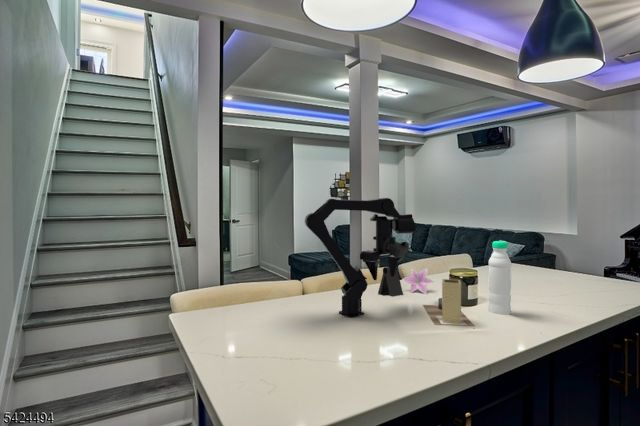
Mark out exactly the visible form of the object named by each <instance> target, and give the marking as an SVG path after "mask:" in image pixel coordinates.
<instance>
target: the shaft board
mask: <svg viewBox="0 0 640 426" xmlns="http://www.w3.org/2000/svg"><path fill="white" fill-rule="evenodd" d="M437 301H438V302H437V303H438V304H422V308H424V310H425V311H426V313H427V315H428V317H429V318H430V319H431V321H432V323H433V325H434V326H451V327H453V326H458V327H476V325H475V324H474V323H473V322H472V321H471V320H470V319H469V318H468V317H467V316H466V314H465V313H463V312H462V310H461V324H458V323H447V322H442V297H439V298H438V300H437ZM474 329H476V328H473V330H474Z"/></svg>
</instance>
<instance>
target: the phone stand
mask: <svg viewBox="0 0 640 426" xmlns="http://www.w3.org/2000/svg"><path fill="white" fill-rule="evenodd" d="M377 294H378V295H380V296H382V297H384V296H385V297H386V296H390V297H392V298H394V297H399V296H404V292H403V288H402V283H401V279H400V274H399V266H398V267H397V270H396V273H395V276H394V277H392V276H391V274H390V269H389V266H384V267H383V268H382V277H381V280H380V285H379V287H378V292H377Z"/></svg>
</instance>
